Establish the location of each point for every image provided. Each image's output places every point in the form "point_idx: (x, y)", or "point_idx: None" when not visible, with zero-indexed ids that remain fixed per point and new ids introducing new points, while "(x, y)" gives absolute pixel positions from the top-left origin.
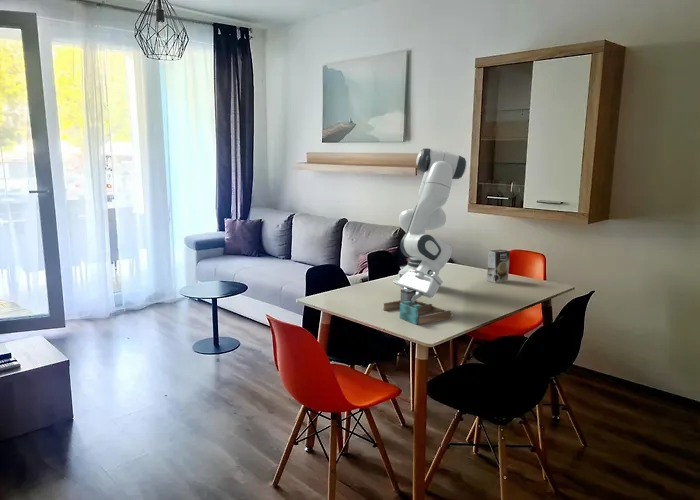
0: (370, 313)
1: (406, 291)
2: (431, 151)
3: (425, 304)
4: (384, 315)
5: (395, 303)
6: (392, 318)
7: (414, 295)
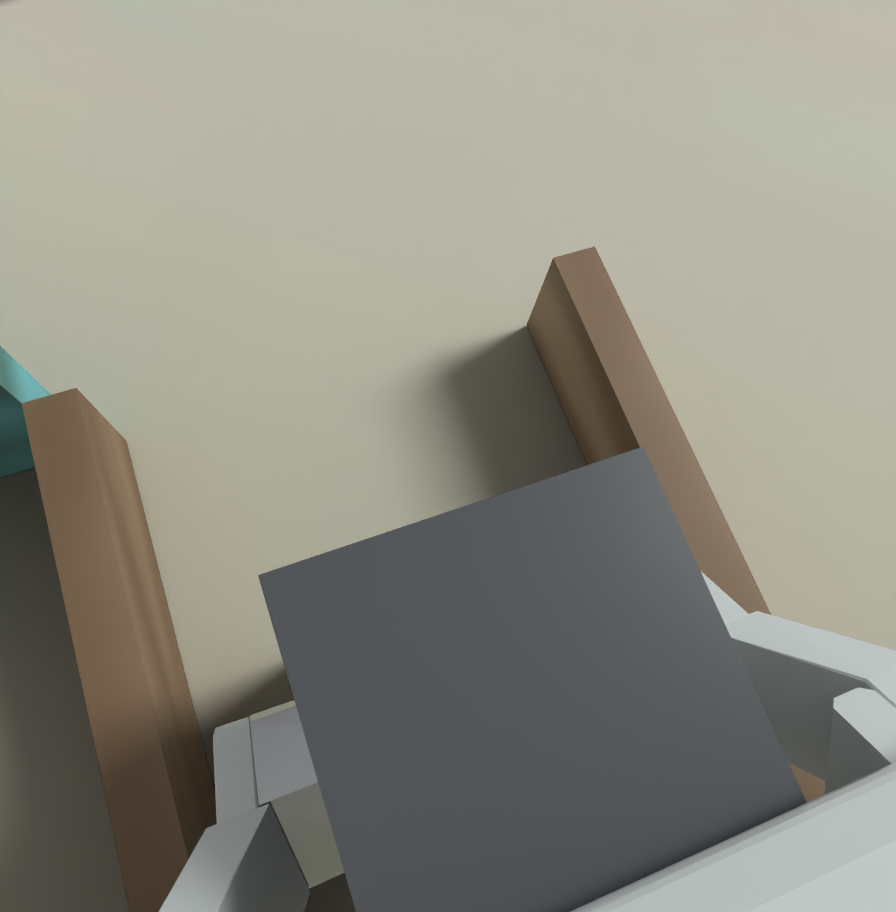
0: (433, 101)
1: (319, 556)
2: None
3: None
4: (284, 242)
5: None
6: (91, 302)
7: (221, 869)
